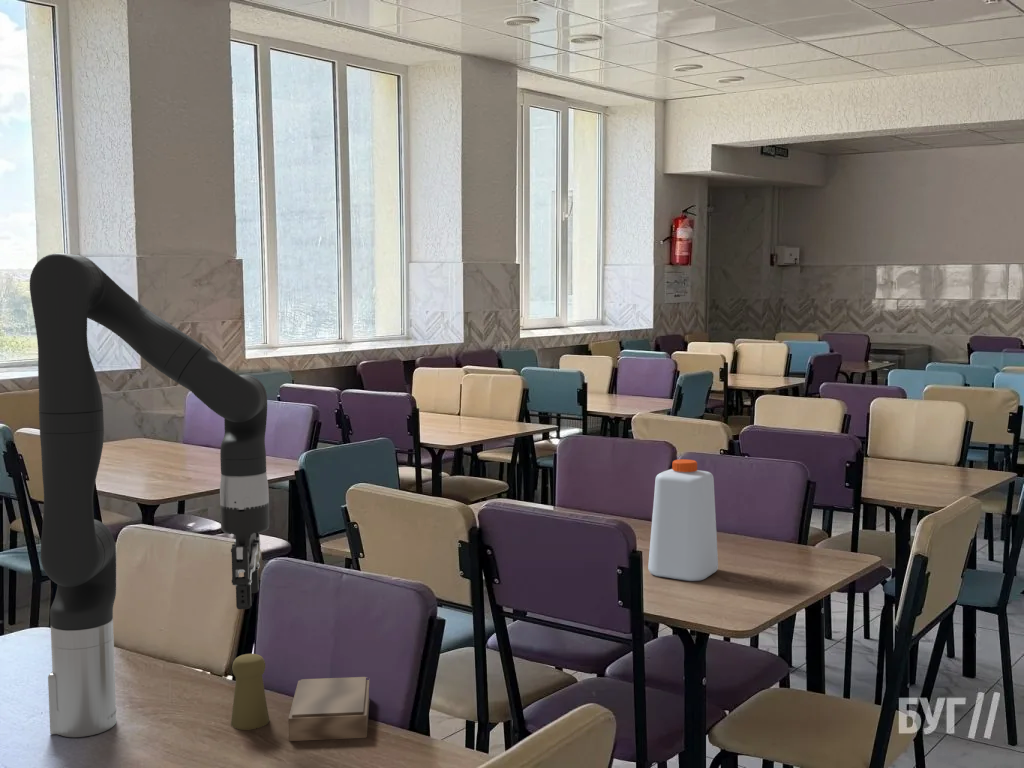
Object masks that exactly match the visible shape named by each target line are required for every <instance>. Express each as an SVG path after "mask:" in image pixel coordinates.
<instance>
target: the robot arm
mask: <svg viewBox="0 0 1024 768" xmlns="http://www.w3.org/2000/svg"><path fill="white" fill-rule="evenodd" d="M29 294H30V301H31V302H30V303H31V306H32V307H31V308H32V312H33V313H32V314H33V318H34V319H33V320H34V327H35V332H36V333H35V334H36V340H37V374H38V375H37V377H38V378H37V379H38V411H39V412H38V418H39V419H38V421H39V439H40V453H41V455H40V456H41V472H42V486H43V511H42V512H43V514H42V515H43V516H42V528H41V529H42V530H41V538H40V539H41V540H40V541H41V542H40V561H41V565H42V568H43V571H44V572H45V574H46V576H47V577H48V578H49V579H50V580H51V581H52V582H54V583H55V584H56V585H57V586H56V590H55V591H56V592H55V596H54V599H53V601H52V604H51V607H50V610H49V618H50V620H49V623H50V645H51V669H52V671H51V672H50V673H49V674H48V676H47V686H48V687H47V688H48V710H49V711H48V713H49V734H50V735H59V736H62V737H67V738H83V737H89V736H94V735H98V734H101V733H103V732H107V731H108V730H110V729H112V728H113V727H114V726H115V725H116V723H117V702H116V701H117V700H116V697H117V695H116V671H115V665H116V664H115V639H114V613H113V612H114V604H115V600H116V594H117V550H116V544H115V543H116V542H115V539H114V536H113V534H112V531H111V530H110V529H109V527H108V526H106V524H105V523H103V522H102V521H100V520H98V519H95V516H94V515H95V514H94V491H95V484H96V482H97V481H96V480H97V475H98V472H99V467H100V462H101V457H102V453H103V448H104V434H105V427H104V425H105V424H104V422H105V421H104V405H103V403H104V402H103V396H102V392H101V386H100V383H99V378H98V377H97V373H96V370H95V368H94V364H93V362H92V359H91V355H90V351H89V345H88V319H89V320H91V321H94V322H95V323H97V324H99V325H101V326H103V327H104V328H106V329H108V330H109V331H111V332H112V333H114V334H115V335H117V337H119V338H121V339H122V340H123V341H124V343H126V344H127V345H129V347H130V348H132V349H133V351H135V352H136V353H137V354H138V355H139V356H140V357H141V358H142V359H143V360H144V361H146V362H147V363H148V364H149V365H150V366H152V367H153V368H155V369H156V370H157V371H159V372H161V373H162V374H163V375H165V376H166V377H167V378H169V379H170V380H172V381H174V382H175V383H177V384H179V385H180V386H182V387H184V388H185V389H188V391H189V392H191V393H192V394H193V395H194V396H195V397H196V398H197V399H199V401H201V402H202V403H203V404H204V405H206V407H208V408H209V409H210V410H211V411H212V412H214V413H215V414H217V415H218V416H220V417H221V418H222V419H223V420H224V434H223V439H222V441H221V443H220V458H219V459H220V483H219V497H220V498H219V503H220V504H219V505H220V527H221V532H223V533H224V534H227V535H234V536H235V539H234V541H233V543H231V549H230V553H231V577H232V578H231V584H232V586H234V587H235V597H236V598H235V600H236V601H235V602H236V604H235V605H236V609H238V610H248V609H251V607H252V594H257V593H258V592H259V586H260V585H259V569H260V568H261V565H260V563H261V561H262V557H261V540H260V533H264V532H265V531H267V530H269V528H270V521H271V520H270V498H269V497H270V495H269V491H270V490H269V489H270V488H269V480H268V476H267V475H268V473H267V454H266V453H267V451H266V450H267V449H266V443H265V442H266V431H267V420H268V419H267V417H268V394H267V390H266V387H265V386H264V384H263V383H262V382H261V380H260V379H258V378H257V377H255V376H253V375H250V374H238V373H236V372H235V371H233V370H232V369H231V368H229V367H228V366H227V365H225V364H223V362H221V361H220V360H218V357H217V356H216V355H215V354H214V353H213V352H212V351H211V350H210V349H208V347H206V346H205V345H203V344H201V343H200V342H198V341H197V340H195V338H193V337H191V336H189V335H188V334H187V333H185V332H183V331H182V330H180V329H179V328H177V327H176V326H174V325H172V324H171V323H169V322H168V321H166V320H165V319H163V318H162V317H160V316H159V315H157V314H155V313H154V312H152V310H149V308H147V307H145V306H144V305H142V304H141V303H140V302H139V301H137V300H136V299H135V298H134V297H132V296H131V295H130V294H129V293H128V292H127V291H126V290H124V289H123V288H122V287H121V286H120V285H119V284H117V283H116V282H115V281H114V280H113V278H111V277H110V276H109V275H107V273H106V272H104V270H103V269H101V268H100V266H98V265H97V264H96V263H95V262H94V261H93V260H91V259H90V258H88V257H86V256H83V255H81V254H74V253H65V252H64V253H63V252H56V253H55V252H54V253H51V254H48V255H45V256H43V257H42V258H41V259H39V260H38V261H37V262H36V264H35V265H34V267H33V268H32V271H31V274H30V278H29ZM241 573H243V576H240V574H241Z"/></svg>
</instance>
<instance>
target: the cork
mask: <svg viewBox="0 0 1024 768" xmlns="http://www.w3.org/2000/svg"><path fill="white" fill-rule="evenodd" d="M231 670H232V675H233V676H234V677H235V682H234V683H235V685H234V694H233V702H232V703H233V704H232V711H231V720H230V725H231V727H232V726H233V727H232V728H233V729H236V728H237V729H236V730H242V731H246V730H249V731H250V730H256V728H257V729H259V728H263V727H265V726H266V725H268V724H269V722H270V718H269V717H270V716H269V715H270V714H269V711H268V710H269V709H268V704H267V697H266V692H265V685H264V679H263V675H264V673H265V671H266V662H265V659H264V658H263V656H261V655H260V654H257V653H245V654H241V655H239V656H237V657H236V658H235V659H234V660H233V662H232V668H231ZM264 725H265V726H264ZM262 726H263V727H262Z"/></svg>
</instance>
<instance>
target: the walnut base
mask: <svg viewBox="0 0 1024 768" xmlns="http://www.w3.org/2000/svg"><path fill="white" fill-rule="evenodd" d="M366 678H367V676H356V677H355V676H353V677H331V678H330V677H326V678H301V679H300V680H297V683H296V684H297V685H296V689H295V691H294V696H293V700H292V704H291V706H290V707H291V708H290V712H289V715H288V741H289V742H297V741H298V742H299V741H318V740H319V741H321V740H344V739H345V740H346V739H347V740H348V739H366V738H367V736H368V725H369V711H370V700H369V687H370V679H369V680H366Z"/></svg>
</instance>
